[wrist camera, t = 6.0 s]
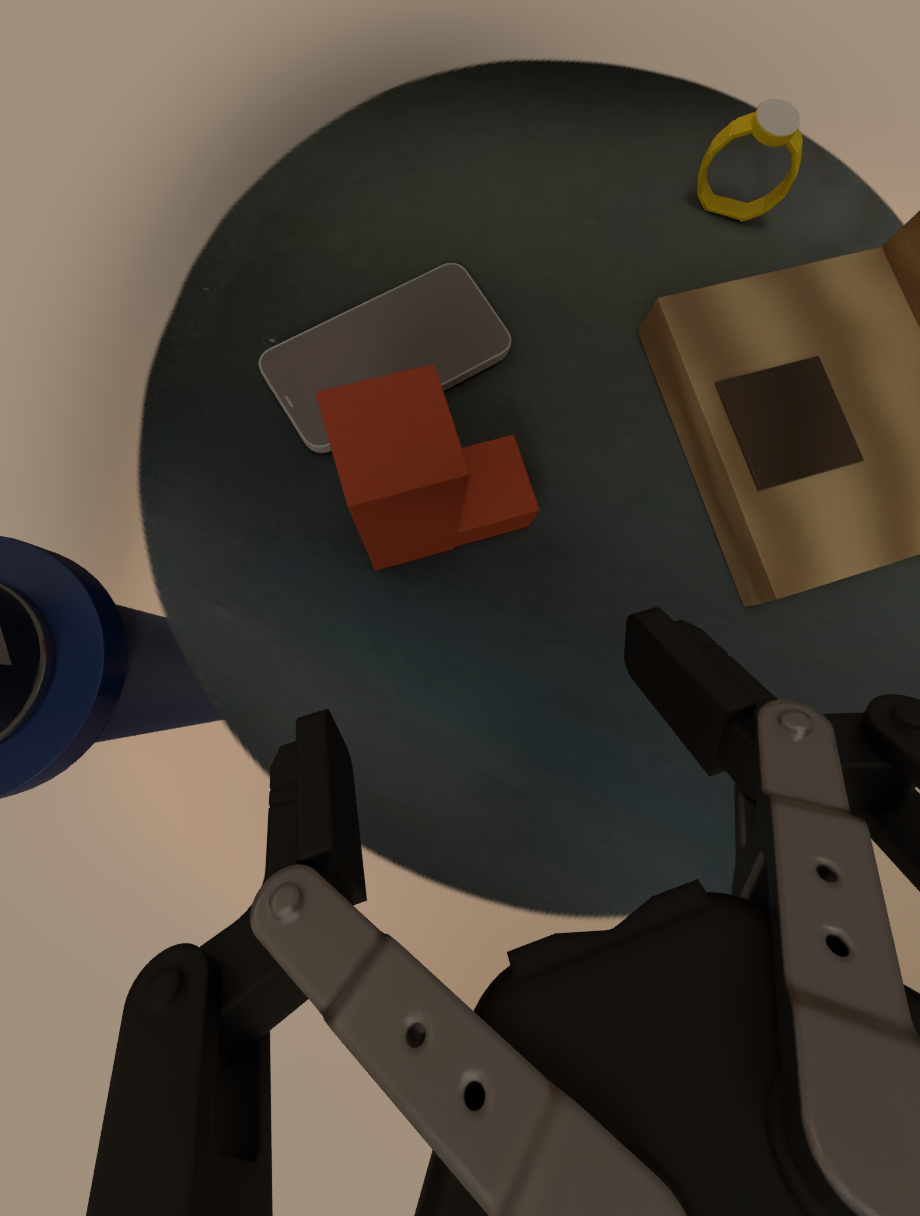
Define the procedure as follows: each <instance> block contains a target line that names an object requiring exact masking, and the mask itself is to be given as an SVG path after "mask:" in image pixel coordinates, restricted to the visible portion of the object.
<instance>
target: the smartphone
mask: <svg viewBox="0 0 920 1216" xmlns="http://www.w3.org/2000/svg"><path fill="white" fill-rule="evenodd" d="M510 345H511V336H510V334H509V332H508V330H507V329H506V327H505V326H504V324H503V323H502V321H501V320H500V318H499V317H498V315H497V314H496V313H495V311H494V310H493V308H492V307H491V305H490V304H489V302H488V301H487V300H486V298H485V297H484V295H483V294H482V292H481V291H480V289H479V288H478V286H477V285H476V284H475V282H474V281H473V279H472V278H471V276H470V275H469V273H468V272H467V271H466V270H465V269H464V268H463V267H462V266H460V265H459V264H455V263H447V264H443V265H441V266H439V267H437V268H435V269H433V270H431V271H429V272H427V273H425V274H423V275H421V276H418V277H416V278H414V279H412V280H410V281H408V282H406V283H404V284H402V285H400V286H398V287H396V288H394V289H392V290H390V291H387V292H385V293H383V294H381V295H379V296H377V297H375V298H373V299H371V300H369V301H367V302H365V303H363V304H361V305H359V306H356V307H354V308H352V309H350V310H348V311H346V312H344V313H342V314H340V315H338V316H336V317H334V318H332V319H330V320H328V321H325V322H323V323H321V324H319V325H317V326H315V327H313V328H311V329H309V330H307V331H305V332H303V333H301V334H299V335H296V336H294V337H292V338H290V339H288V340H286V341H284V342H282V343H280V344H278V345H276V346H274V347H272V348H270V349H268V350H266V351H265V352H264V353H263V354H262V355H261V357H260V359H259V367H260V370H261V372H262V374H263V376H264V378H265V380H266V382H267V384H268V385H269V387H270V388H271V390H272V391H273V393H274V395H275V396H276V398H277V399H278V401H279V403H280V404H281V406H282V407H283V409H284V411H285V412H286V414H287V415H288V417H289V419H290V420H291V422H292V423H293V425H294V427H295V428H296V430H297V431H298V433H299V435H300V436H301V438H302V439H303V441H304V443H305V444H306V445H307V447H308V448H310V449H311V450H312V451H314V452H317V453H326V452H329V451H332V450H331V446H330V443H329V439H328V436H327V432H326V429H325V425H324V422H323V419H322V415H321V412H320V408H319V405H318V401H317V398H316V394H315V392H316V391H320V390H325V389H329V388H333V387H337V386H342V385H346V384H350V383H355V382H359V381H363V380H368V379H372V378H376V377H380V376H385V375H389V374H393V373H398V372H402V371H406V370H411V369H415V368H419V367H424V366H428V365H432V364H434V365H435V367H436V370H437V373H438V376H439V379H440V382H441V385H442V388H443V391H445V390H447V389H449V388H450V387H452V386H454V385H456V384H458V383H460V382H462V381H464V380H466V379H467V378H469V377H471V376H473V375H475V374H477V373H479V372H481V371H482V370H484V369H486V368H488V367H490V366H492V365H494V364H496V363H497V362H499V361H501V360H503V359H504V358H505V357H506V356H507V354H508V352H509V348H510Z"/></svg>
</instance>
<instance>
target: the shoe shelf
mask: <svg viewBox="0 0 920 1216" xmlns="http://www.w3.org/2000/svg"><path fill="white" fill-rule="evenodd" d="M638 334H639V337H640V339H641V342H642V344H643V347H644V350H645V352H646V355H647V357H648V360H649V363H650V365H651V368H652V370H653V373H654V376H655V378H656V381H657V383H658V386H659V388H660V391H661V394H662V396H663V399H664V401H665V404H666V407H667V409H668V412H669V414H670V417H671V420H672V422H673V425H674V427H675V430H676V432H677V435H678V438H679V440H680V443H681V445H682V448H683V451H684V453H685V456H686V458H687V461H688V464H689V466H690V469H691V471H692V474H693V477H694V479H695V482H696V484H697V487H698V489H699V492H700V495H701V497H702V500H703V502H704V505H705V508H706V510H707V513H708V515H709V518H710V521H711V523H712V526H713V528H714V531H715V533H716V536H717V539H718V541H719V544H720V546H721V549H722V552H723V554H724V557H725V559H726V562H727V565H728V567H729V570H730V572H731V575H732V577H733V580H734V583H735V585H736V588H737V590H738V593H739V596H740V598H741V601H742V603H743V606H744V607H748V606H752V605H757V604H761V603H765V602H769V601H773V600H778V599H781V598H784V597H787V596H790V595H793V594H796V593H800V592H803V591H806V590H809V589H812V588H815V587H819V586H822V585H825V584H828V583H831V582H834V581H838V580H841V579H844V578H847V577H850V576H853V575H856V574H860V573H863V572H866V571H869V570H872V569H875V568H879V567H882V566H885V565H888V564H891V563H894V562H897V561H901V560H904V559H907V558H910V557H913V556H916V555H920V211H919V212H918V213H917V214H916V215H915V216H914V217H912V218H911V219H910V220H909V221H908V222H907V223H906V224H905V225H904V226H903V227H902V228H901V229H900V230H899V231H898V232H897V233H896V234H895V235H894V236H892V237H891V238H890V239H889V240H888V241H887V242H886V243H885V244H884V245H883V246H882V247H879V248H874V249H870V250H865V251H861V252H857V253H852V254H848V255H844V256H839V257H835V258H830V259H826V260H822V261H817V262H813V263H809V264H804V265H800V266H795V267H791V268H787V269H782V270H778V271H774V272H769V273H765V274H760V275H756V276H752V277H747V278H743V279H739V280H734V281H730V282H725V283H721V284H717V285H712V286H708V287H704V288H699V289H695V290H690V291H686V292H682V293H677V294H673V295H669V296H664V297H660V298H658V299H657V300H656V302H655V303H654V305H653V307H652V308H651V310H650V312H649V313H648V315H647V317H646V318H645V320H644V322H643V323H642V325H641V326H640V328H639V330H638Z"/></svg>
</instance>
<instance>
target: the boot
mask: <svg viewBox="0 0 920 1216" xmlns="http://www.w3.org/2000/svg"><path fill="white" fill-rule="evenodd" d="M315 394H316V398H317V401H318V405H319V408H320V412H321V415H322V419H323V422H324V425H325V429H326V432H327V436H328V439H329V443H330V446H331V450H332V453H333V457H334V460H335V464H336V467H337V471H338V474H339V478H340V481H341V485H342V488H343V491H344V495H345V498H346V502H347V505H348V508H349V510H350V513H351V515H352V517H353V520H354V522H355V524H356V527H357V529H358V532H359V534H360V536H361V539H362V541H363V543H364V546H365V548H366V551H367V553H368V555H369V558H370V560H371V562H372V565H373V567H374V570H375V571H376V570H380V569H384V568H387V567H391V566H394V565H398V564H402V563H405V562H409V561H412V560H416V559H419V558H423V557H427V556H430V555H434V554H437V553H441V552H445V551H448V550H452V549H453V548H454V547H456V546H460V545H463V544H467V543H471V542H474V541H478V540H481V539H485V538H489V537H492V536H496V535H499V534H503V533H507V532H510V531H514V530H517V529H521V528H525V527H528V526H529V525H530V523H531V522H532V520H533V519H534V517H535V516H536V514H537V513H538V511H539V507H538V504H537V501H536V498H535V495H534V492H533V489H532V486H531V483H530V480H529V477H528V474H527V471H526V468H525V466H524V463H523V460H522V457H521V454H520V451H519V448H518V445H517V442H516V439H515V436H514V435H510V436H507V437H503V438H499V439H495V440H491V441H487V442H483V443H479V444H475V445H471V446H467V447H463V448H462V447H461V444H460V441H459V438H458V435H457V432H456V428H455V425H454V422H453V419H452V416H451V413H450V410H449V407H448V404H447V401H446V398H445V395H444V391H443V388H442V385H441V382H440V379H439V376H438V373H437V370H436V367H435V365H434V364H432V365H428V366H424V367H419V368H415V369H411V370H406V371H402V372H398V373H393V374H389V375H385V376H380V377H376V378H372V379H368V380H363V381H359V382H355V383H350V384H346V385H342V386H337V387H333V388H329V389H325V390H320V391H316V392H315Z"/></svg>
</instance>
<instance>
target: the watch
mask: <svg viewBox="0 0 920 1216" xmlns="http://www.w3.org/2000/svg"><path fill="white" fill-rule="evenodd" d="M799 125H800V117H799V113H798V112H797V110H796V109H795V108H794V107H793V106H792V105H791V104H790V103H788V102H786V101H783V100H778V99H772V100H768V101H765V102H763V103H762V104H761V105H760V106H759V107H758V108H757V110H756V112H754V113H751V114H748V115H745V116H742V117H739V118H737V119H736V120H733V121H732V122H731V123H730V124H729V125H728V126H727V127H725V128H724V129H723V130H722V131H721V132H720V133H718V134H717V135H716V137H715V138H714V139H713V140H712V142H711V144H710V146H709V148H708V150H707V152H706V154H705V155H704V157H703V160H702V163H701V167H700V170H699V173H698V182H697V194H698V196H697V197H698V199H699V201H700V202H701V204H702V206H703V208H704V210H705V211H709V212H713V213H716V214H720V215H724V216H728V217H730V218H734V219H737V220H740V222H742V221H747V220H749V219H752V218H755V217H757V216H760V215H763V214H764V213H766V212H768V211H769V210H770V209H771V208H772V207H774V206H775V205H776V204H777V203H778V202H780V201H781V200H782V199H783V198H784V196H786V194H787V192H788V191H789V189H790V187H791V185H792V184H793V182H794V180H795V178H796V176H797V173H798V169H799V166H800V162H801V156H802V140H803V138H802V137H801V136H802V134H801V133H800V131H799V129H798V127H799ZM751 133H752V134H753V136H754V137H755V139H757V140H758V141H759V142H760V143H762V144H764V145H766V146H771V147H778V146H782V145H786V146H787V148H788V150H789V151H790V153H791V154H792V160H791V168H790V170H789V172H788V174H787V175H786V177H785V179H784V181H783V182H782V183H780V184H779V185H778V186H777V187H776V188H775V189H774V190H772V191H771V192H770V193H769V194H768V195H767V196H764V197H762V198H759V199H757V200H754V201H752V202H749V203H745V202H742V201H738V200H734V199H730V198H726V197H723V196H719V195H715V194H713V192H712V190H711V188H710V186H709V184H708V182H707V180H706V179H707V168H708V166H709V164H710V162H711V160H712V158H713V157H714V155H715V154H716V153H717V152H718V151H720V150H721V149H722V148H723V147H724V146H726V145H727V144H728V143H729V142H730V141H732V140H733V139H735V138H739V137H742V136H745V135H748V134H751Z"/></svg>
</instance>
